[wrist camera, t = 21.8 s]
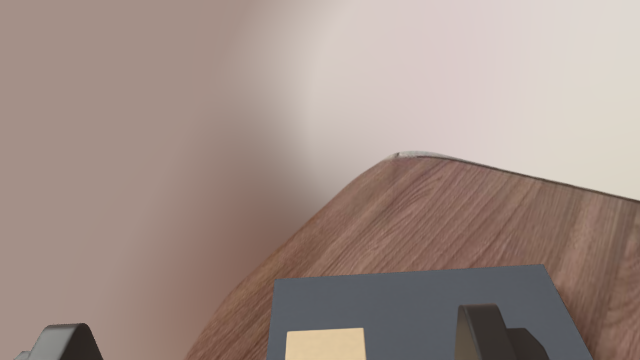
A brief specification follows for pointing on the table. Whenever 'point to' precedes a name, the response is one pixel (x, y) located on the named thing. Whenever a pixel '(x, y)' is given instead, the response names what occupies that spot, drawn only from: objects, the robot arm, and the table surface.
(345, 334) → the tan rectangular block
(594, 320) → the table surface
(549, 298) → the dark gray square slab
